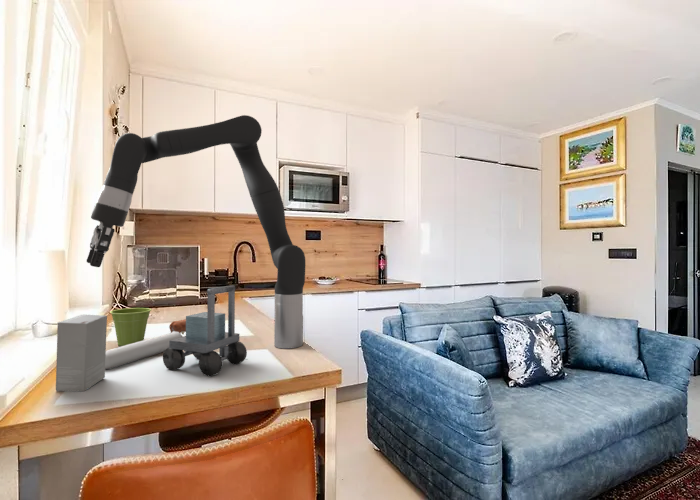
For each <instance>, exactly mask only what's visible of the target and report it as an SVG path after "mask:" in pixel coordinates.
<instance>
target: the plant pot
mask: <svg viewBox="0 0 700 500" xmlns="http://www.w3.org/2000/svg"><path fill="white" fill-rule="evenodd" d="M150 312H152V308H149V307H129V308H128V307H127V308H120V309H114V310H111V311H109V313H110V314H111V317H112V320H113V324H114V329H115V336H116V340H117V341H116V342H117V345H118V347H121V346H125V345H128V344H132V343H136V342H139V341H143V340H145V334H146V330H147V326H148V325H147V324H148V321H149V317H150Z"/></svg>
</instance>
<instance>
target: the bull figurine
mask: <svg viewBox="0 0 700 500" xmlns="http://www.w3.org/2000/svg"><path fill="white" fill-rule="evenodd" d="M168 328H169V330H170V331H169V332H170V333H172V332H173V331H176V332H179V333H180V334H181V335H184V334H185V333H186V318H185V319H181V320H175V321H174V320H173V321H172V322H171V323H169V327H168Z"/></svg>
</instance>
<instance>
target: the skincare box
mask: <svg viewBox="0 0 700 500" xmlns="http://www.w3.org/2000/svg"><path fill="white" fill-rule="evenodd" d="M107 323H108V316H107V315H106V314H104V315H99V314H98V315H97V314H96V315H95V314H79V315H76V316H73V317H71V318H68V319H64V320H61V321H58V322H57V330H56V331H57V336H56V338H57V339H56V363H55V365H56V367H55V368H56V371H55V392H85V391H86V390H88V389H90V388H91V387H93V386H95V384H97V383H98V382H101V380H103V379H105V377H106V369H105V357H106V351H107V330H108V329H107V327H108V326H107V325H108V324H107Z"/></svg>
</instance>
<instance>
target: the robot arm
mask: <svg viewBox="0 0 700 500" xmlns="http://www.w3.org/2000/svg"><path fill="white" fill-rule="evenodd" d="M262 131H263V130H262V126H261V124H260V123H259V121H258V120H257V119H256V118H255V117H253V116H250V115H245V114H244V115H243V114H242V115H239V116H235V117H232V118H230V119H227V120H224V121H219V122H215V123H210V124H207V125H199V126H193V127H187V128H178V129H171V130H170V129H169V130H164V131H163V130H162V131H157V132H156V133H154V134H153V135H151V136H145V137H141V136H140V135H138V134H136V133H133V132H127V133H123V134H121V135H120V136H119V137H118V138H117V140H116V142H115V144H114V145H115V146H114V147H113V152H112V157H111V160H110V166H109V169H108V171H107V173H106V176H105V179H104V181H103V185H102V187H101V189H100V190H99V192H98V194H97V197H96V198H97V199H96V201H95V203H94V204H95V205H94V207H93V210H92V212H91V216H90V219H91V220H93V221H97V222H99V225H96V226H95V228H94V230H93V235H92V237H91V240H90V244H89V248H90V249H89V252H88V254H87V259H86V263H87V264H89V265H90V266H91V267H95V268H100V267H101V266H102V263H103V259H104V257H105V254H107V252H108V251H110V248H109V247H110V246H111V243H112V239H113V237H114V234H115V231H116V230H115V228H113V227H115V226H116V227H120V228H122V227H124V225H125V222H126V220H127V216H128V215H129V211H130V206H131V205H132V199H133V195H134V192H135V189H136V186H137V183H138V182H137V181H138V175H139V172H140V169H141V166H142V164H146V163H150V162H152V161H157V160H159V159H160V160H161V159H163V158H169V157H177V156H182V155H188V154H193V153H196V152H200V151H203V150H206V149H209V148H212V147H216V146H217V147H218V146H222V145H230V146H231V149H232V151H233V152H234V155H235V157H236V158H237V161H238V163H239V165H240V168H241V171H242V173H243V178H244V181H245V184H246V186H247V191H248V193H249V196H250V199H251V202H252V205H253V207H254V210H255V213H256V214H257V218H258V219H259V222H260V224H261V227H262V229H263V231H264V234H265V237H266V239H267V242H268V246H269V247H268V248H269V251H270V255H271V260H272V263H273V265H274V267H275V268H276V269H277V272H276V273H277V277H276V278H277V279H276V283H275V285H274V333H273V334H274V335H273V336H274V338H273V339H274V340H273V341H274V342H273V344H274V347H275V348H279V349H296V348H299V347H301V346H303V343H304V314H303V312H304V311H303V309H304V308H303V307H304V303H303V301H304V299H303V298H304V286H305V282H306V256H305V253H304V250H303V249H302V248H301V247H299V246H298V245H294V243H293V242H292V240H291V238H290V235H289V232H288V229H287V225H286V215H285V213H286V212H285V206H284V202H283V199H282V196H281V192H280V190H279V187H278V185H277V183H276V181H275V178H273V176H272V174H271V172H270V171H269V170H268V168H267V167H266V166H265V163H264V162H263V160H262V157H261V154H260V150H259V147H258V142H259V140H260V139H261V136H262Z"/></svg>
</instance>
